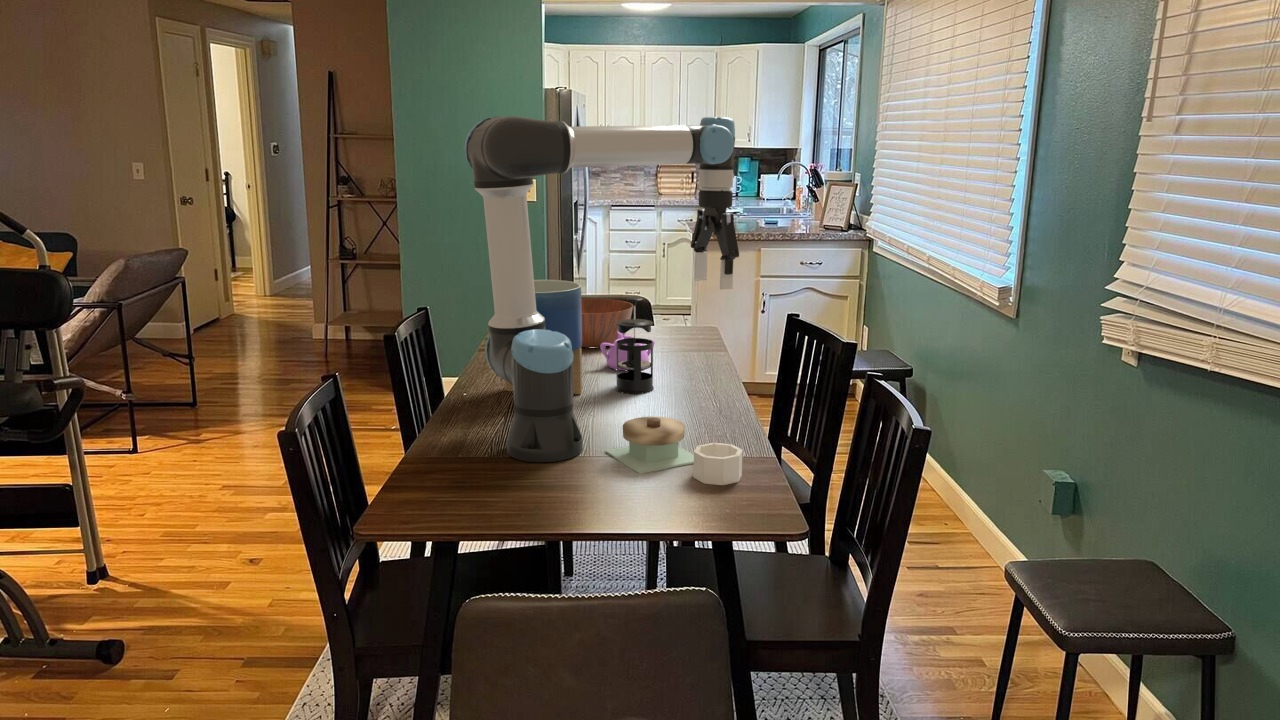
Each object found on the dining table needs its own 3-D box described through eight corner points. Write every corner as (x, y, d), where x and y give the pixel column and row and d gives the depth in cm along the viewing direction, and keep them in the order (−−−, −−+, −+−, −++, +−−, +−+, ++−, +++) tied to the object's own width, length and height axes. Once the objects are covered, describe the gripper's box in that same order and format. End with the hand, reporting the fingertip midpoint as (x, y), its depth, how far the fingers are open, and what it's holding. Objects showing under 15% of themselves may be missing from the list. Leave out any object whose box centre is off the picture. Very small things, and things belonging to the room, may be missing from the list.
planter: (519, 380, 238) (515, 278, 232) (591, 384, 234) (590, 280, 228) (492, 400, 220) (488, 290, 214) (570, 405, 216) (568, 293, 210)
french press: (657, 394, 225) (657, 300, 220) (618, 395, 224) (618, 301, 218) (648, 381, 237) (649, 292, 231) (612, 383, 235) (611, 293, 230)
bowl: (561, 333, 295) (560, 297, 292) (638, 335, 291) (638, 299, 289) (542, 351, 271) (541, 312, 268) (626, 353, 267) (626, 314, 265)
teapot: (618, 359, 260) (618, 328, 258) (661, 366, 253) (661, 334, 251) (595, 368, 250) (594, 336, 248) (639, 375, 243) (639, 342, 241)
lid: (641, 449, 172) (641, 432, 171) (612, 431, 182) (611, 416, 182) (696, 439, 178) (696, 423, 177) (664, 422, 188) (664, 407, 187)
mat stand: (639, 474, 172) (639, 451, 171) (605, 452, 184) (605, 431, 183) (703, 461, 179) (703, 439, 178) (666, 441, 190) (666, 420, 189)
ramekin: (711, 487, 165) (711, 461, 164) (686, 473, 172) (686, 447, 171) (749, 479, 169) (750, 453, 168) (723, 465, 176) (724, 440, 175)
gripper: (757, 192, 195) (753, 292, 200) (707, 186, 217) (704, 276, 222) (725, 192, 192) (721, 293, 197) (678, 186, 215) (676, 277, 220)
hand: (712, 284), depth 210 cm, fingers open, 13 cm apart
